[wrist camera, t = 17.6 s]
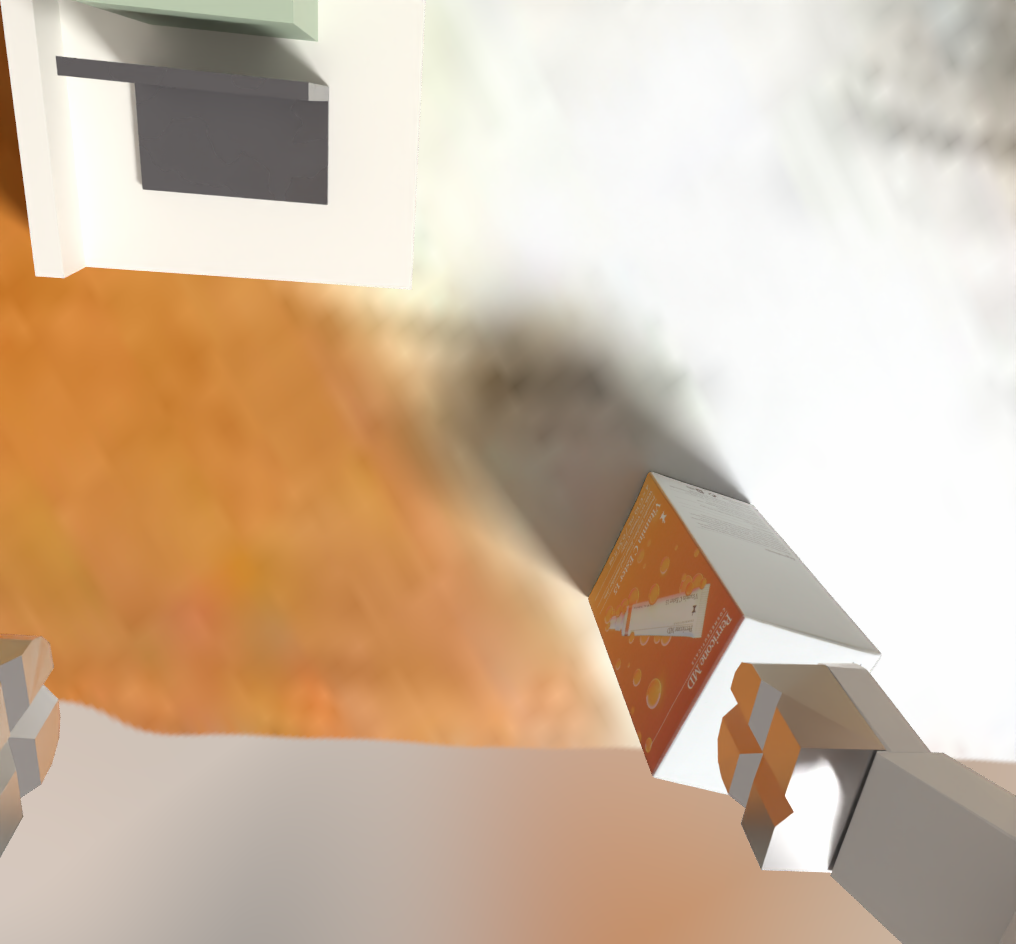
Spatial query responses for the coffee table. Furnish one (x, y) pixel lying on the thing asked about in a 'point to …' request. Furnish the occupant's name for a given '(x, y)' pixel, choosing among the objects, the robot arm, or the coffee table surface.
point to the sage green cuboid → (224, 15)
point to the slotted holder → (220, 143)
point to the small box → (706, 619)
